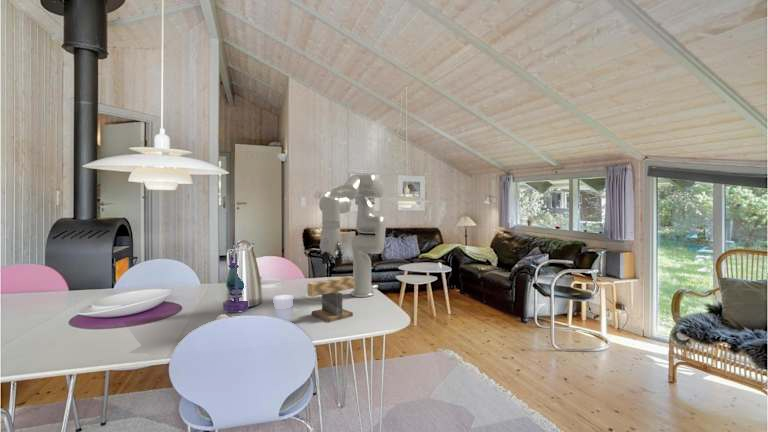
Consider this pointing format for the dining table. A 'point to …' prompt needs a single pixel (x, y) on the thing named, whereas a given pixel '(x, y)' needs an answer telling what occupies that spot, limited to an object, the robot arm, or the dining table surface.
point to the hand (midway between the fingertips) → (331, 264)
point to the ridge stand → (332, 308)
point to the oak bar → (330, 286)
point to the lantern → (234, 288)
